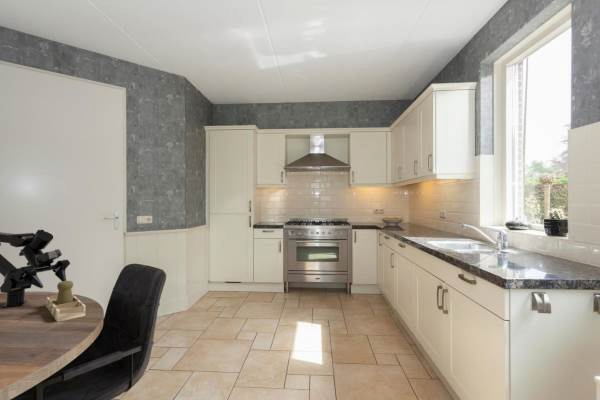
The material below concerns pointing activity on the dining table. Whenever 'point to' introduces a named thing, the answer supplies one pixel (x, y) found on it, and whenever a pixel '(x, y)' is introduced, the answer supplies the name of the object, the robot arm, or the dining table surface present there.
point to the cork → (64, 292)
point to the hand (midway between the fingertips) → (54, 284)
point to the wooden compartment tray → (65, 308)
